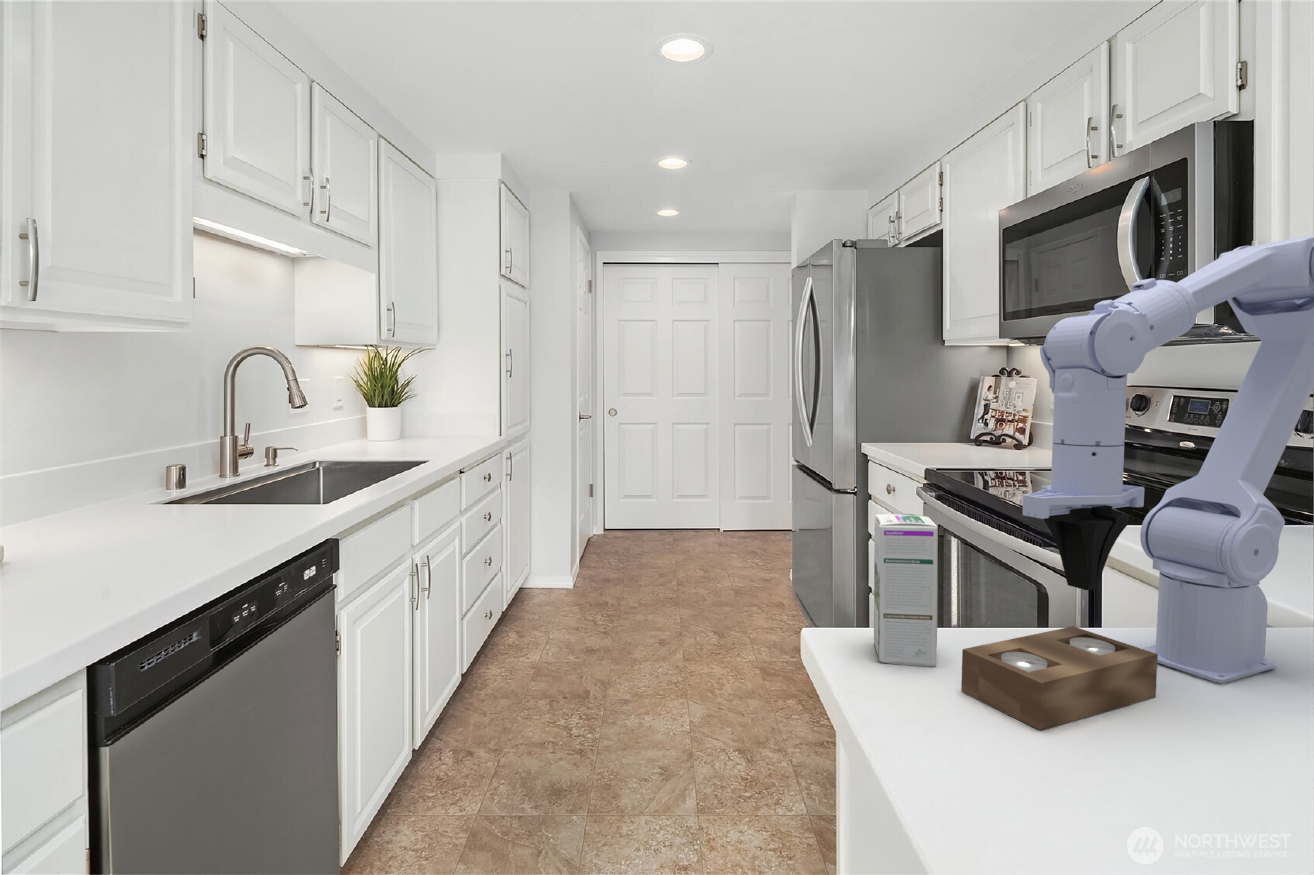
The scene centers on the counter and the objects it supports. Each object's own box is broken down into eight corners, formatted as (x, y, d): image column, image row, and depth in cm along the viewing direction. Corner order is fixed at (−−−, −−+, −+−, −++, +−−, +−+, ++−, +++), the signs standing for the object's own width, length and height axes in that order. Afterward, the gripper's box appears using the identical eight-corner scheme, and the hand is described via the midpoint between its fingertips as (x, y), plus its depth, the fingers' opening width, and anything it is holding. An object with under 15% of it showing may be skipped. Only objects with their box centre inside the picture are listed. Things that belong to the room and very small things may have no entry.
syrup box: (938, 668, 69) (942, 524, 68) (876, 663, 71) (879, 522, 70) (927, 647, 75) (931, 514, 74) (870, 643, 76) (873, 512, 75)
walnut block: (1071, 665, 70) (1073, 626, 70) (1155, 697, 63) (1157, 654, 62) (961, 691, 64) (962, 649, 64) (1039, 730, 57) (1041, 682, 56)
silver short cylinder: (1084, 673, 68) (1086, 635, 67) (1122, 688, 64) (1124, 647, 64) (1059, 679, 66) (1060, 640, 66) (1096, 695, 63) (1098, 654, 62)
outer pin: (1019, 689, 64) (1020, 649, 64) (1055, 706, 61) (1057, 663, 60) (990, 696, 62) (992, 655, 62) (1026, 714, 59) (1027, 670, 59)
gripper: (1095, 438, 72) (1090, 568, 73) (995, 443, 66) (991, 585, 67) (1170, 443, 65) (1163, 585, 66) (1066, 449, 59) (1060, 606, 60)
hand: (1081, 587), depth 66 cm, fingers closed
